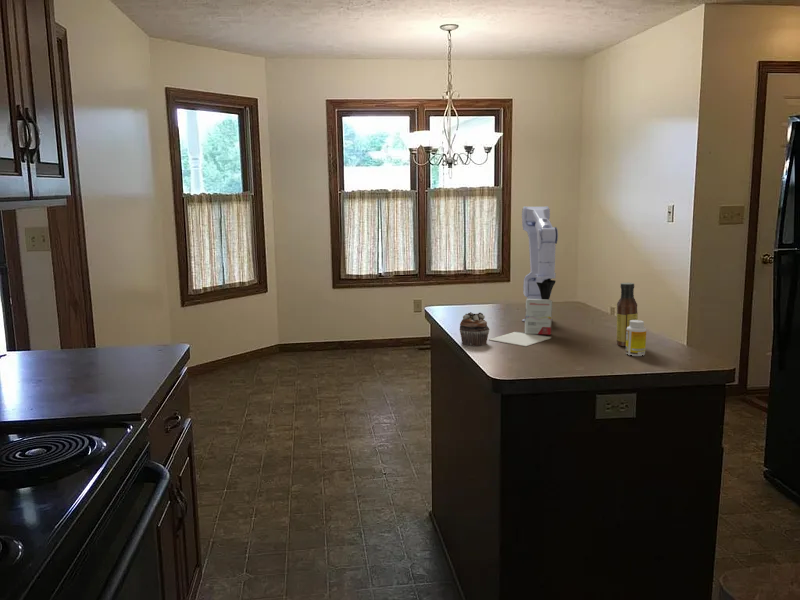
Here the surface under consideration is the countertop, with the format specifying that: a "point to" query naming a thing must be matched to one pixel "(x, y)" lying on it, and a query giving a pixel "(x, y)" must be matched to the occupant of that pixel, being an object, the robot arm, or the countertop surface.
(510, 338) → the mat
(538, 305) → the ink box
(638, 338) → the supplement bottle
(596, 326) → the countertop surface
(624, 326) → the sauce bottle
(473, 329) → the cupcake
